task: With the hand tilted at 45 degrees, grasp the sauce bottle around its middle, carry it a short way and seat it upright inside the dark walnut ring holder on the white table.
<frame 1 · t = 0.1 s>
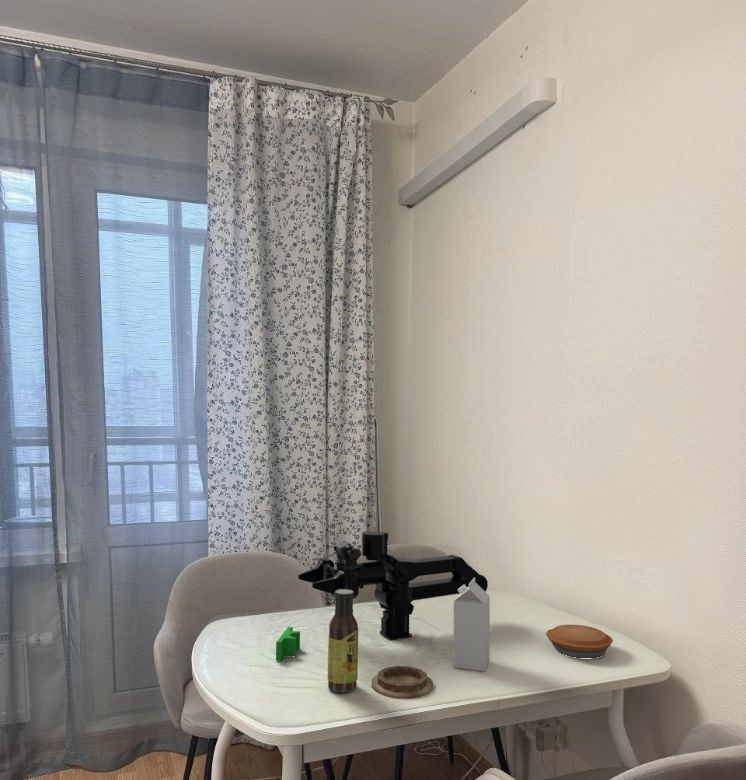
hand: (305, 581, 158), 17 cm above the table, tool horizontal, fingers open, 9 cm apart
pipe clamp: (289, 654, 156), on the table
sauce bottle: (342, 689, 136), on the table
ring holder: (402, 684, 138), on the table
milk carton: (471, 665, 150), on the table
pie: (579, 652, 159), on the table
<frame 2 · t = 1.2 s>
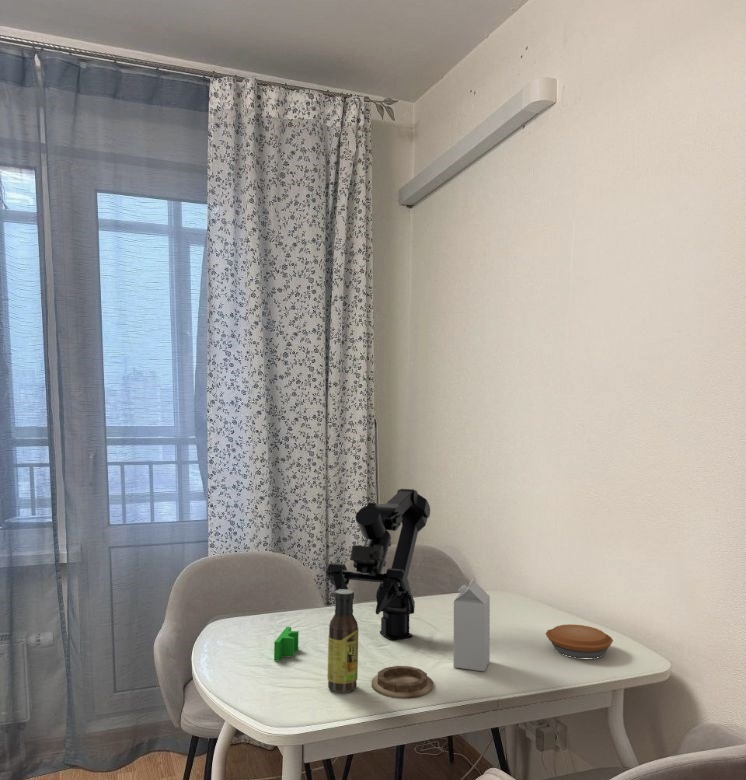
hand: (357, 611, 144), 14 cm above the table, tool tilted 45°, fingers open, 9 cm apart
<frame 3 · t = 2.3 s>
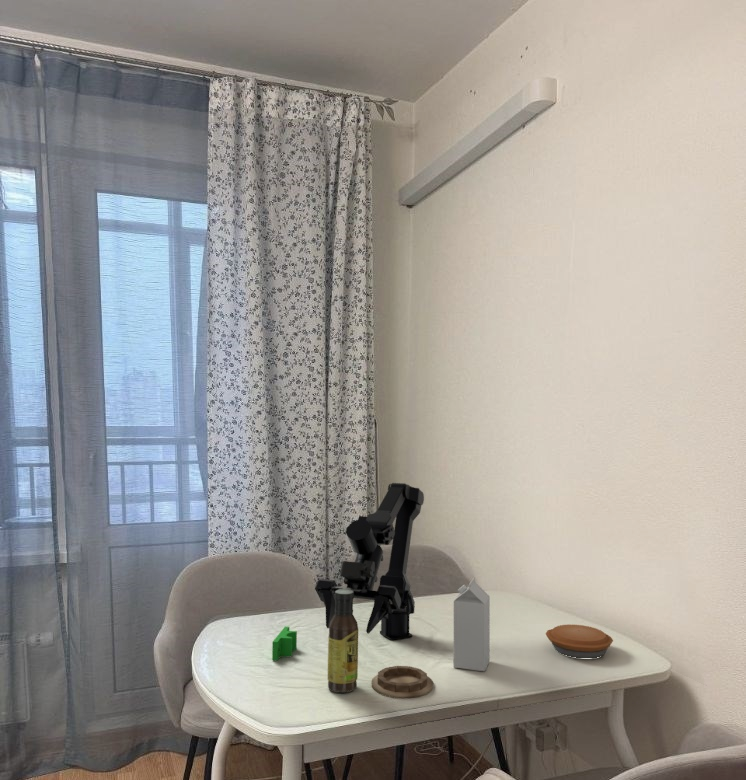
hand: (347, 629, 138), 11 cm above the table, tool tilted 45°, fingers open, 9 cm apart
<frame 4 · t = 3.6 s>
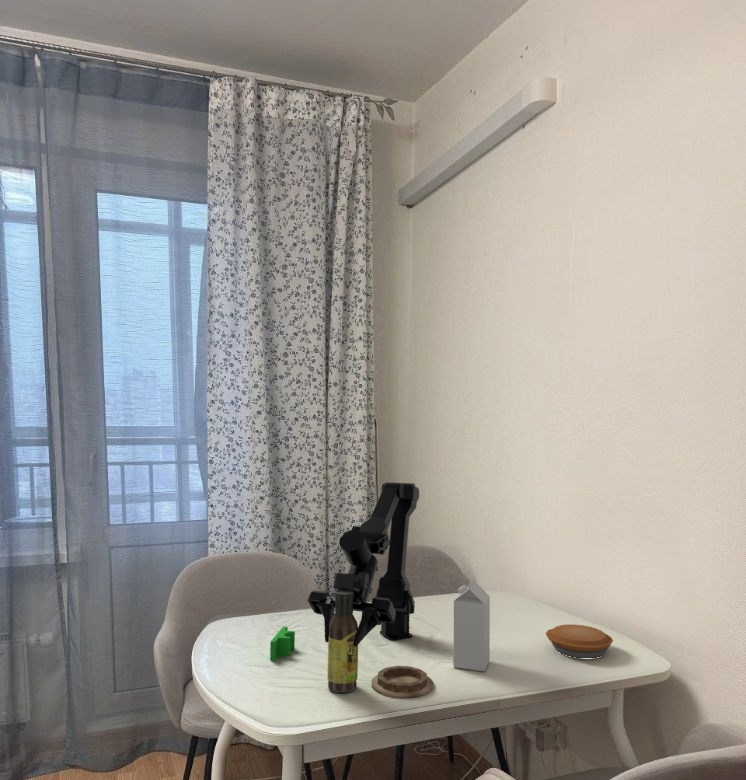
hand: (340, 643, 135), 10 cm above the table, tool tilted 45°, fingers closed on sauce bottle, 6 cm apart
sauce bottle: (342, 689, 136), on the table, touching gripper
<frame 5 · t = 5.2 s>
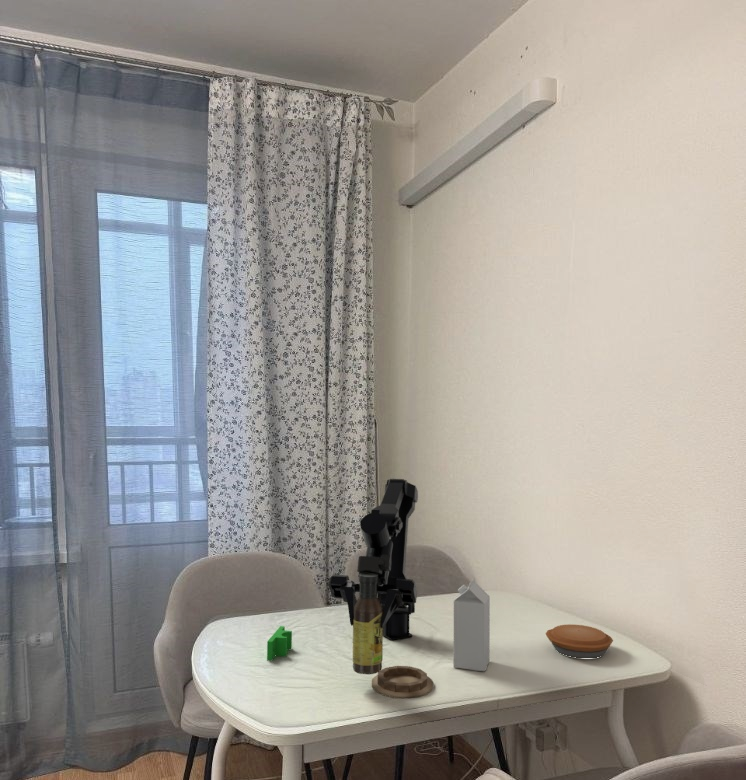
hand: (366, 625, 136), 13 cm above the table, tool tilted 45°, fingers closed on sauce bottle, 6 cm apart
sauce bottle: (367, 671, 137), point 3 cm above the table, touching gripper
when the fingers open (11 cm above the table, at t = 6.9 s): sauce bottle stays where it is, resting on ring holder.
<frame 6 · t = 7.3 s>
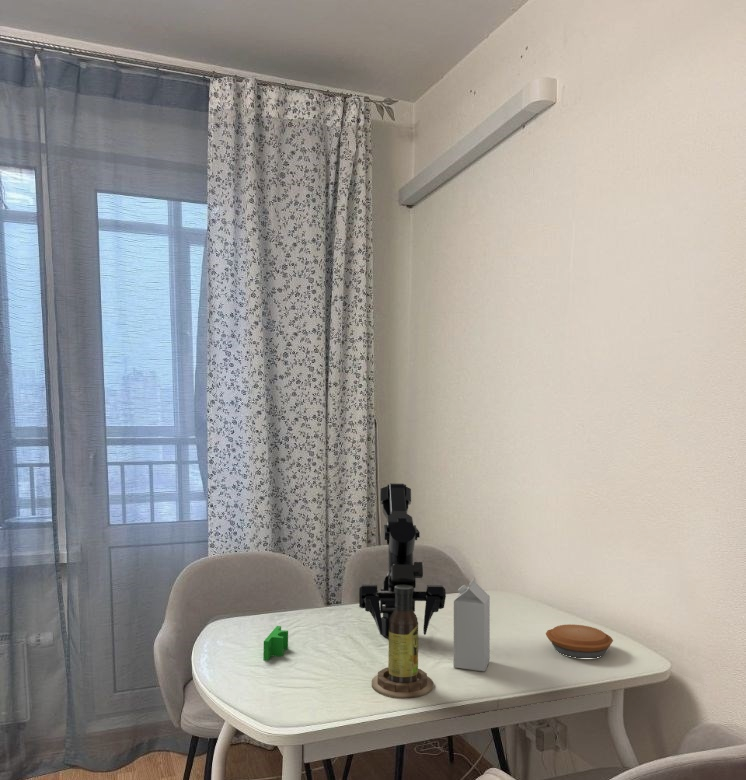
hand: (403, 633, 137), 11 cm above the table, tool tilted 45°, fingers open, 9 cm apart
sauce bottle: (403, 682, 138), resting on ring holder
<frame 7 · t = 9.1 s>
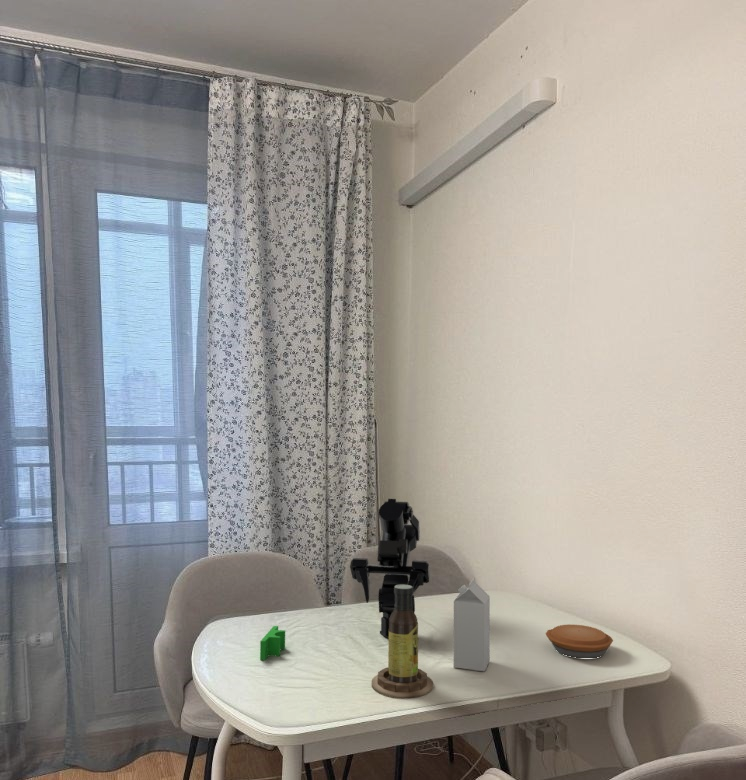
hand: (386, 602, 151), 14 cm above the table, tool tilted 45°, fingers open, 9 cm apart
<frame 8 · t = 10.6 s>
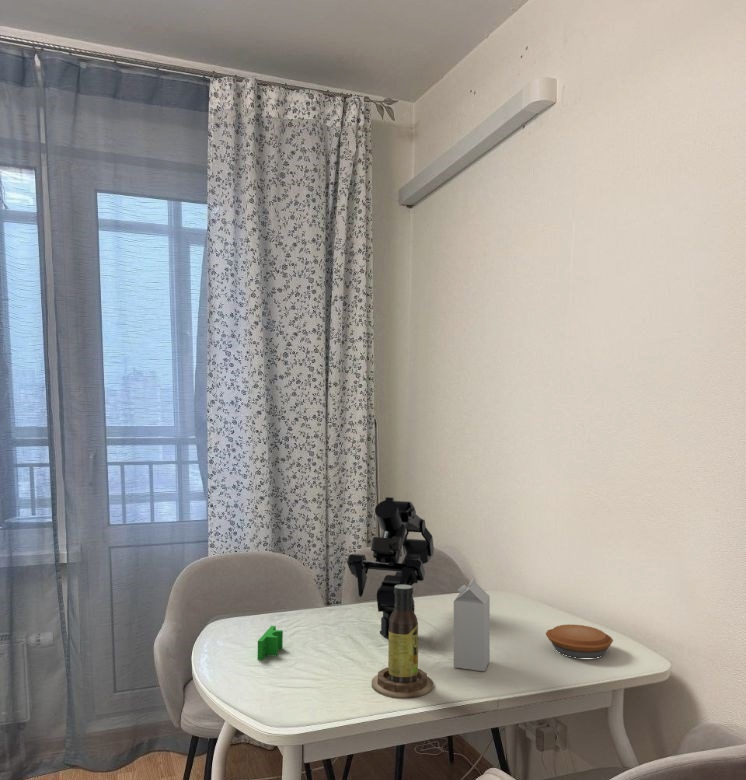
hand: (378, 597, 155), 14 cm above the table, tool tilted 45°, fingers open, 9 cm apart
at the end: sauce bottle 0.2 cm from the ring holder (horizontally); sauce bottle resting on ring holder; sauce bottle tilted 0° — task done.
